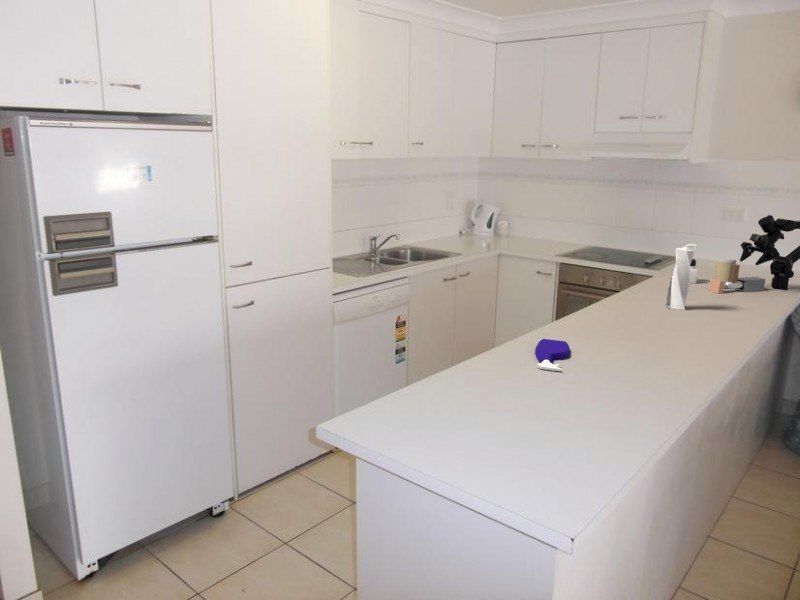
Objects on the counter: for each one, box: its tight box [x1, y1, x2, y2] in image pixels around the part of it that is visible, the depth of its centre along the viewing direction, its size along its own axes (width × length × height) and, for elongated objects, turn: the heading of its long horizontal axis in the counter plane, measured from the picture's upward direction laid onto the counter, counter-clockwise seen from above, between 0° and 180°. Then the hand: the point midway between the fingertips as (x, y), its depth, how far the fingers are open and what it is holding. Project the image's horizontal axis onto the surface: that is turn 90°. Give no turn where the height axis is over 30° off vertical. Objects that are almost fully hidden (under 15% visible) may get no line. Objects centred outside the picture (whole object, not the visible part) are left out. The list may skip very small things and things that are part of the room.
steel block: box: [734, 276, 766, 293], centre depth 302 cm, size 12×6×6 cm, turn 107°
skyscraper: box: [665, 243, 698, 311], centre depth 263 cm, size 8×8×28 cm
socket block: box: [708, 278, 725, 295], centre depth 296 cm, size 3×6×6 cm, turn 17°
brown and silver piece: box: [723, 263, 745, 290], centre depth 299 cm, size 18×4×12 cm, turn 107°
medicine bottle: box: [690, 258, 699, 285], centre depth 317 cm, size 7×7×12 cm
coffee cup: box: [714, 256, 737, 282], centre depth 320 cm, size 9×9×12 cm
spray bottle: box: [534, 338, 570, 372], centre depth 200 cm, size 3×11×24 cm
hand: (747, 262), depth 299 cm, fingers open, 9 cm apart
